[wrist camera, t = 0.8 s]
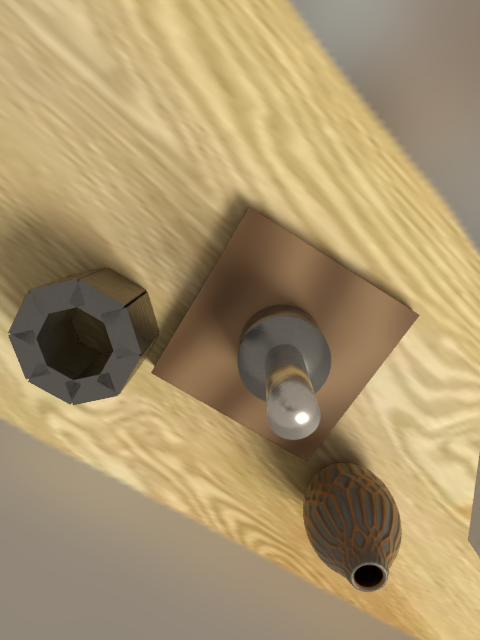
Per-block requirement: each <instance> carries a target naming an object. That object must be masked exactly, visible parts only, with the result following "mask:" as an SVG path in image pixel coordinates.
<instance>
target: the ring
mask: <svg viewBox="0 0 480 640" xmlns="http://www.w3.org/2000/svg"><path fill="white" fill-rule="evenodd" d="M145 291H146V290H145V289H143V288H142V287H140V286H138V285H137V284H135V283H133V282H132V281H130V280H128V279H127V278H125V277H123V276H121V275H120V274H118V273H116V272H115V271H113V270H111V269H110V268H107V269H106V267H105V268H101V269H97V270H93V271H89V272H85V273H81V274H77V275H73V276H69V277H65V278H62V279H59V280H57V281H54V282H51V283H48V284H45V285H42V286H40V287H37V288H34V289H31V290H30V291H28V292H27V294H26V296H25V298H24V300H23V302H22V305H21V307H20V309H19V311H18V313H17V315H16V317H15V319H14V322H13V324H12V326H11V328H10V330H9V332H8V333H10V335H8V336H9V338H10V341H11V343H12V346H13V348H14V351H15V353H16V356H17V358H18V361H19V363H20V366H21V368H22V371H23V373H24V375H25V378H26V379H29V381H28V382H30V383H32V384H34V385H35V386H37V387H39V388H41V389H43V390H45V391H46V392H48V393H50V394H52V395H54V396H56V397H57V398H59V399H61V400H63V401H65V402H67V403H68V404H71V403H73V405H76V404H81V403H86V402H90V401H95V400H100V399H105V398H109V397H114V396H117V395H118V394H120V393H121V391H122V390H123V389H124V387H125V386H126V385H127V383H128V382H129V381H130V379H131V378H132V377H133V375H134V374H135V373H136V371H137V370H138V368H139V367H140V366H141V364H142V362H143V361H144V359H145V357H146V355H147V354H148V352H149V350H150V349H151V347H152V345H153V343H154V342H155V340H156V338H157V337H158V335H159V333H158V332H159V328H158V325H157V321H156V318H155V315H154V312H153V308H152V305H151V302H150V298H149V295H148V292H146V293H144V292H145ZM76 307H77V308H79V309H81V310H82V311H84V312H86V313H88V314H89V315H91V316H93V317H95V318H96V319H98V320H100V321H102V322H103V323H104V324H105V327H106V330H107V333H108V336H109V339H110V342H111V345H112V348H113V352H108V353H104V354H100V353H99V352H97V351H95V350H93V349H92V348H90V347H88V346H86V345H85V344H83V343H81V342H79V339H78V337H77V334H76V331H75V328H74V326H73V323H72V320H71V317H72V315H73V313H74V311H75V309H76Z"/></svg>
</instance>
